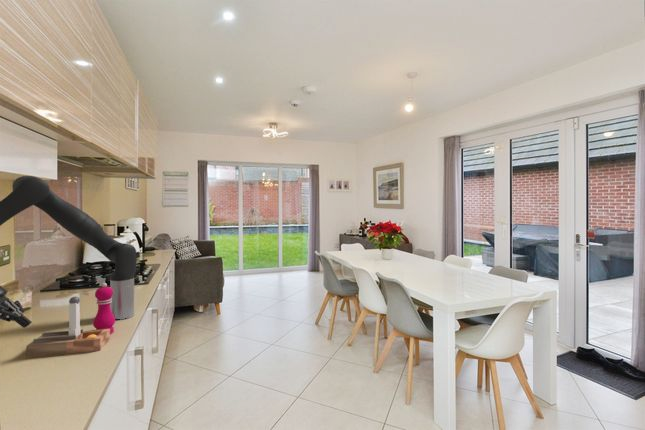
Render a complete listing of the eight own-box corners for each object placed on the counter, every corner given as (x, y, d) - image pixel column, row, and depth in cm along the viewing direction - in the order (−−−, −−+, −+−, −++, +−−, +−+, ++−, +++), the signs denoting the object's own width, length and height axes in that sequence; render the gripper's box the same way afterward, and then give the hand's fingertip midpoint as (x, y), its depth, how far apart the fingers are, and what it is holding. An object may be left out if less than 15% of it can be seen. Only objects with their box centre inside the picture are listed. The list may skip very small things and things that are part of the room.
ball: (94, 345, 118) (84, 339, 117) (102, 337, 118) (93, 330, 118) (89, 350, 114) (80, 343, 113) (98, 341, 115) (89, 334, 114)
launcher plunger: (72, 334, 116) (72, 295, 115) (82, 333, 117) (81, 294, 116) (66, 338, 112) (66, 298, 111) (77, 337, 113) (76, 298, 112)
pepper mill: (91, 333, 127) (91, 282, 127) (112, 328, 132) (112, 279, 132) (95, 338, 122) (94, 286, 122) (117, 333, 127) (117, 283, 127)
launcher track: (42, 345, 116) (42, 331, 116) (110, 339, 122) (110, 325, 122) (26, 357, 106) (26, 342, 106) (100, 350, 112) (100, 335, 112)
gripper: (-18, 286, 102) (29, 322, 106) (5, 279, 114) (46, 311, 118) (-42, 304, 99) (7, 340, 104) (-16, 295, 112) (27, 327, 116)
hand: (28, 325), depth 111 cm, fingers closed
